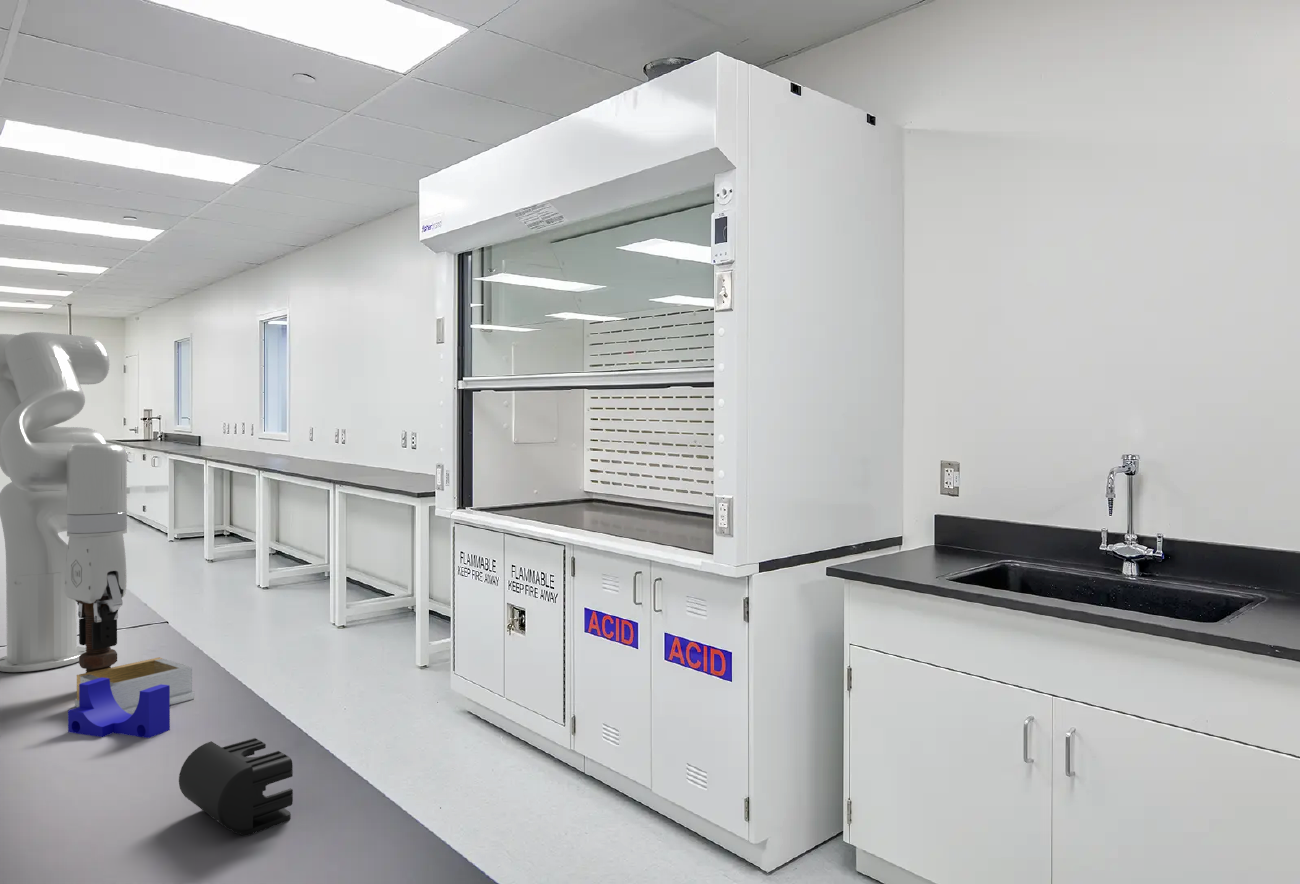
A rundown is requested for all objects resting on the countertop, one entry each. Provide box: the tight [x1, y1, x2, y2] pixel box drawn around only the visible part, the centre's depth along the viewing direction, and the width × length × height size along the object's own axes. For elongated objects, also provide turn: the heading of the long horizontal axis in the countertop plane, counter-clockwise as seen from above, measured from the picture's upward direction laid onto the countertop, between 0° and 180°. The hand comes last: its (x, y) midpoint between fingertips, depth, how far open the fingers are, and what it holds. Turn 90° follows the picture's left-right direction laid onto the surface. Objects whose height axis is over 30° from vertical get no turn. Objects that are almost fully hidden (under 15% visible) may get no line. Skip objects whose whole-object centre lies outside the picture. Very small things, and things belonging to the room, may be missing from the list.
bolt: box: [76, 596, 118, 673], centre depth 121 cm, size 6×5×15 cm
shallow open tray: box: [74, 657, 195, 715], centre depth 114 cm, size 11×11×4 cm
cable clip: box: [67, 678, 171, 739], centre depth 103 cm, size 12×4×6 cm, turn 72°
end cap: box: [178, 737, 294, 837], centre depth 79 cm, size 10×7×7 cm
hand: (98, 643), depth 121 cm, fingers closed on bolt, 3 cm apart
